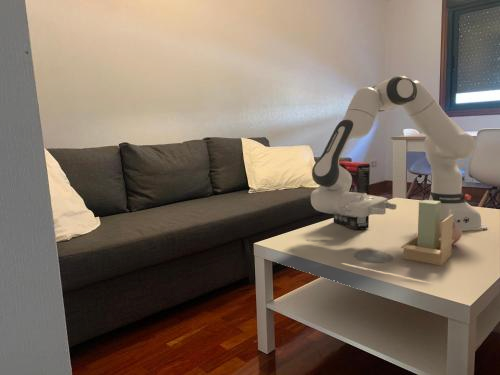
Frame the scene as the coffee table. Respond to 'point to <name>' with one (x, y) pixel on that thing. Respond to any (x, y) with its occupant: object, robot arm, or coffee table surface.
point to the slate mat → (373, 256)
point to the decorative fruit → (455, 233)
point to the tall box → (429, 224)
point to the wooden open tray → (427, 253)
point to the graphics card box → (359, 185)
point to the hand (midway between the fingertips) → (390, 209)
